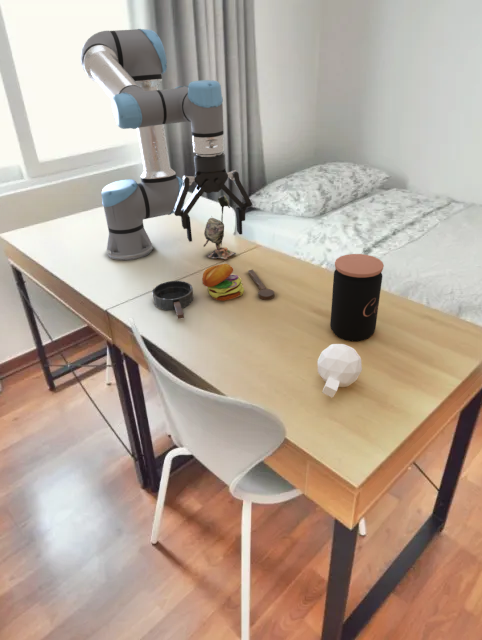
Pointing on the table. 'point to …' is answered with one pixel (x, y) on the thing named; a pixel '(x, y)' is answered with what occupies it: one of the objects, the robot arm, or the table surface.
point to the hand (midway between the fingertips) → (215, 236)
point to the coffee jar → (355, 296)
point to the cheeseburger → (222, 282)
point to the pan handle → (178, 310)
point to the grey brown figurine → (217, 233)
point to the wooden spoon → (261, 287)
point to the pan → (173, 294)
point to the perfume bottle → (338, 367)
